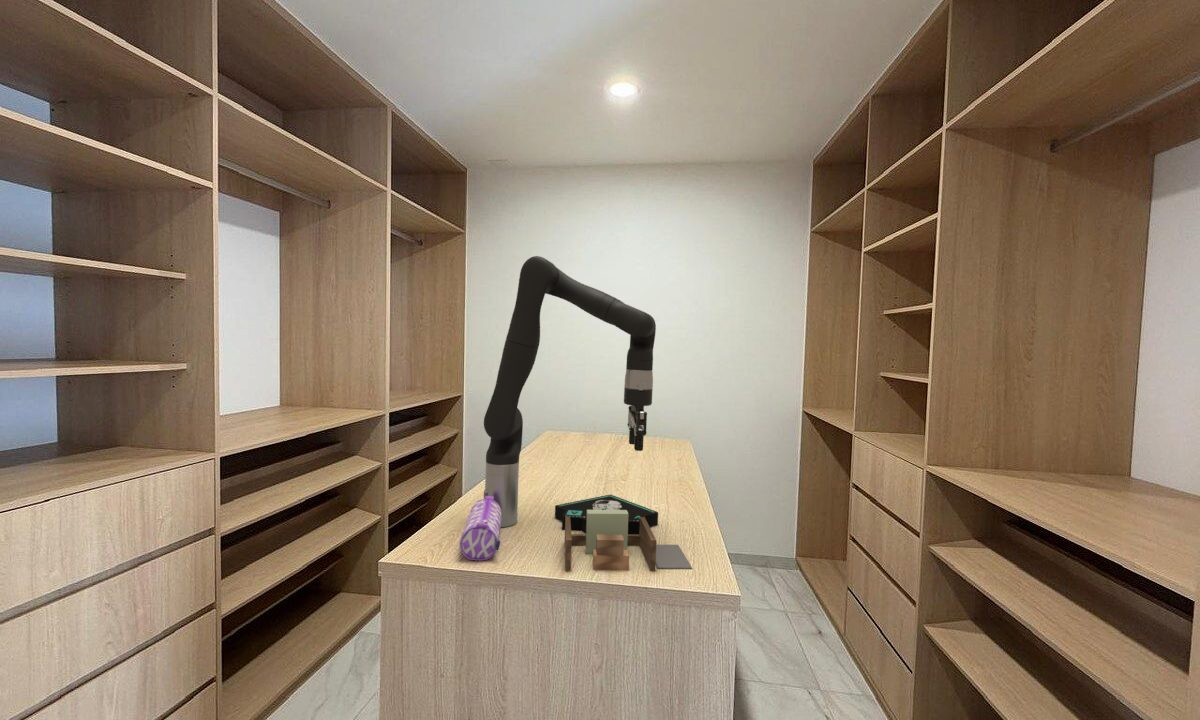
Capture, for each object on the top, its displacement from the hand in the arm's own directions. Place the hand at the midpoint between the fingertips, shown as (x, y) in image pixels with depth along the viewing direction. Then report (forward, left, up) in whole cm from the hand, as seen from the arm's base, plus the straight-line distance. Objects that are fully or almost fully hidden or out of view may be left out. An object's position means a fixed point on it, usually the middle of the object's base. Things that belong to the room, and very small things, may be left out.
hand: (635, 447), depth 139 cm
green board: (-8, -11, -24) cm, 28 cm away
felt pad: (+7, -14, -24) cm, 28 cm away
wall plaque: (-6, +12, -25) cm, 28 cm away
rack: (-8, -14, -24) cm, 29 cm away
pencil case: (-39, -7, -24) cm, 46 cm away
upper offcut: (-8, -20, -21) cm, 30 cm away
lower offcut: (-8, -20, -24) cm, 32 cm away
